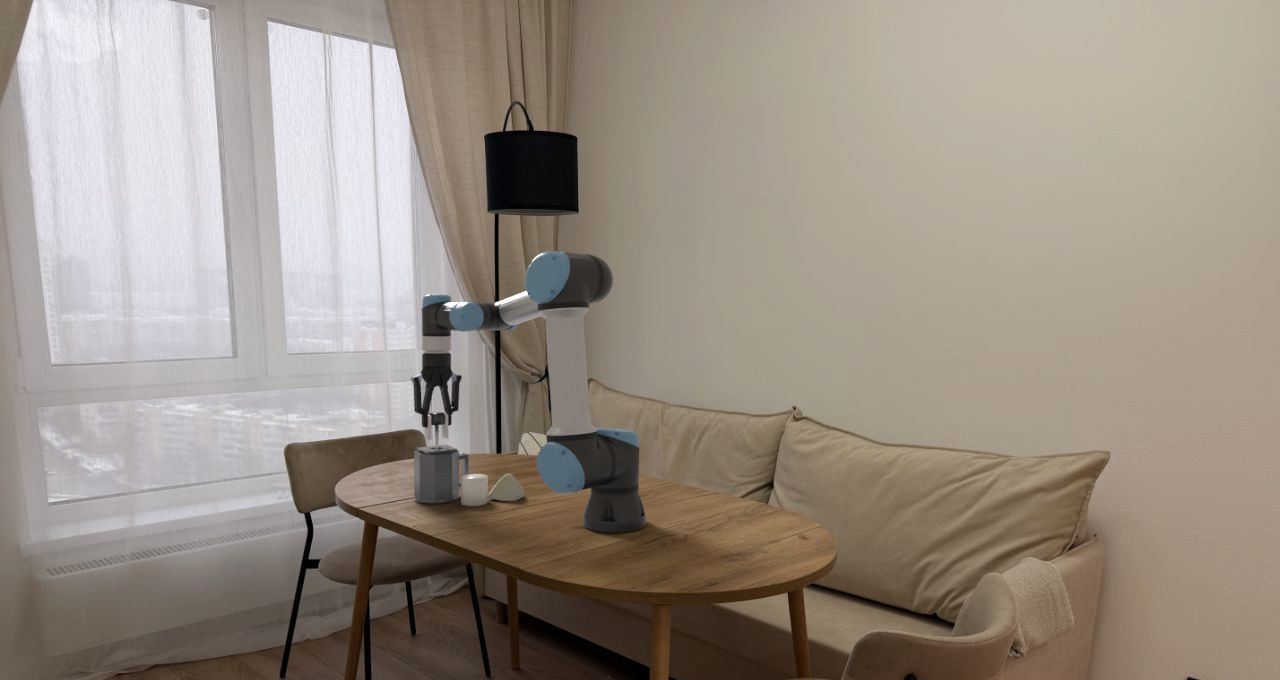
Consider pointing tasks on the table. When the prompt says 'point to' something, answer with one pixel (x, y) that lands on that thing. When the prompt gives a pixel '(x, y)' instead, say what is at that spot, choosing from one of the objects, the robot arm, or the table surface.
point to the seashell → (507, 489)
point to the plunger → (437, 425)
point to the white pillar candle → (474, 489)
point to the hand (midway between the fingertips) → (436, 438)
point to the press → (438, 474)
